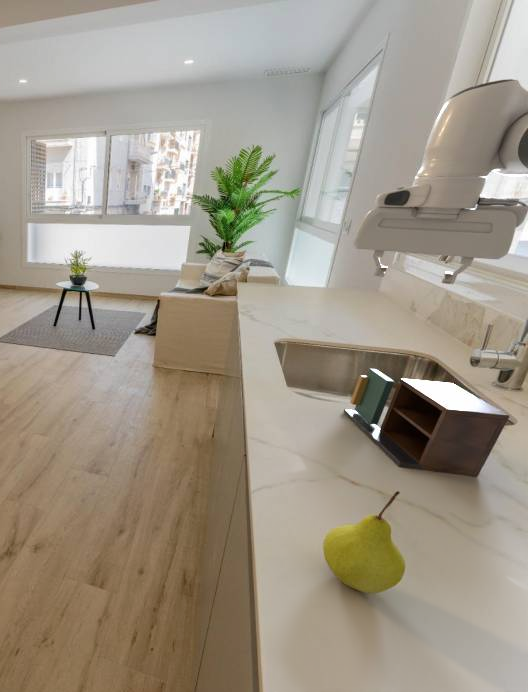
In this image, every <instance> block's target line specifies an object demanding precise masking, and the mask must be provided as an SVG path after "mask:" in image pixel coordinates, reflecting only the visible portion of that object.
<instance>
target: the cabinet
mask: <svg viewBox="0 0 528 692" xmlns="http://www.w3.org/2000/svg"><path fill="white" fill-rule="evenodd" d="M342 412H343V414H344V415H345V416H346V417H347V418H348V419H349V420H350V422H352V423H353V424H354V425H356V427H357V428H358V429H359V430H360V431H362V432H363V433H364V435H366V436H367V438H369V439H370V440H371V441H372V442H373V443H374V444H375V445H376V446H377V448H379V449H380V450H381V451H382V452H383V453H384V454H385V455H386V456H387V457H388V458H389V459H391V461H392V462H393V463H395V465H396V466H397V467H398V468H406V469H414V470H423V471H431V472H437V473H446V474H454V475H461V476H468V477H469V476H470V477H475V478H476V477H479V475H480V473H481V471H482V469H483V468H484V466H485V463H486V462H487V460H488V458H489V456H490V454H491V453H492V450H493V448H494V447H495V445H496V444H497V441H498V439H499V437H500V436H501V433H502V432H503V430H504V429H505V426H506V424H507V422H508V420H509V418H510V414H508V413H506V412H504V411H502V410H500V409H499V408H498V407H496V406H493V405H492V404H490V403H488V402H486V401H484V400H483V399H481V398H479V397H478V396H476V395H474V394H472V393H470V392H469V391H467V390H465V389H463V388H461V387H460V386H458V385H456V384H454V383H453V382H443V381H431V380H423V379H421V380H420V379H411V378H400V379H399V381H398V383H397V386H396V388H395V391H394V393H393V396H392V398H391V400H390V403H389V406H388V408H387V411H386V413H385V416H384V418H383V419H382V423H381V425H380V427H379V426H378V425H372V424H369V423H368V422H367V421H366V420H365V419H364V418H363V417H362V416H361V415H360V414H359V413H357V412H356V411H355V409H346V408H344V409H343V411H342Z"/></svg>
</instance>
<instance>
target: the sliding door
mask: <svg viewBox="0 0 528 692" xmlns="http://www.w3.org/2000/svg"><path fill="white" fill-rule="evenodd" d="M394 385H395V381H394V380H393V379H392V378H390V377H389V376H387V375H386V374H384V373H383V372H381V371H380V370H379V369H377V368H369V370H368V372H367V375H364V374H363V375H362V374H360V375H359V376H358V379H357V383H356V385H355V388H354V389H353V390H354V391H353V393H352V395H351V399H350V401H349V402H350V404H351V405H352V406H353V405H354V406H355V407H354V410H355V411H356V412H357V413H359V414H360V415H361V416H362V417H363V418H364V419H365V420H366V421H367V422H368V423H369V424H372V425H377V426H378V425H379V422H380V419H381V417H382V414H383V413H384V410H385V407H386V404H387V402H388V399H389V397H390V395H391V392H392V389H393V387H394Z"/></svg>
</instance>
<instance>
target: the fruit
mask: <svg viewBox="0 0 528 692" xmlns="http://www.w3.org/2000/svg"><path fill="white" fill-rule="evenodd" d="M400 494H401V492H400V491H398V490H397V491H395V492H394V493H393V495H392V496H391V497H390V499H388V501H387V503H386V504H385V506H383V508H382V510H380V512H379V514H369V515H366V516H365V517H364V518H362V520H360V521H359V522H358V523H356V524H345V525H341V526H336V527H335V528H332V529H331V530H329V532H328V533H326V535H325V537H324V540H323V544H322V548H323V549H322V551H323V556H324V560H325V562H326V564H327V566H328V568H329V569H330V571H331V572H332V574H333V575H334V576H335V577H336V578H337V579H338V580H339V581H340V582H341V583H342V584H345V585H346V586H348V587H350V588H352V589H354V590H357V591H359V592H362V593H366V594H371V595H372V594H374V595H375V594H378V593H381V592H385V591H387V590H389V589H392V588H393V587H395V586H397V585H398V584H399V583H400V582H401V581H402V579H403V577H404V575H405V570H406V560H405V559H404V556H403V555H402V553H401V551H400V549H399V547H397V545H396V543H395V542H394V541H393V539H392V527H391V525H390V523H389V521H388V520H387V519H386V518H385V517H383V514H384V513H385V511H386V510H387V509H388V508H389V507H390V506H391V505H392V503H393V502H394V501H395V499H396V497H398V496H399V495H400Z"/></svg>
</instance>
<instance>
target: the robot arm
mask: <svg viewBox="0 0 528 692" xmlns="http://www.w3.org/2000/svg"><path fill="white" fill-rule="evenodd" d="M491 173H494V174H495V173H496V174H500V175H502V176H508V177H523V176H527V177H528V90H527V89H526V88H524V87H523V86H522V85H521V82H520V81H519V80H518V79H513V78H510V79H499V80H494V81H488V82H485V83H480V84H478V85H474V86H469V87H466V88H465V89H462V90H460V91H458V92H456V93H455V94H453V95H452V96H450V97H449V98H448V99H447V100H446V102H444V104H443V106H442V108H441V109H440V111H439V114H438V116H437V117H436V119H435V122H434V124H433V126H432V129H431V131H430V134H429V136H428V139H427V142H426V144H425V148H424V158H423V161H422V165H421V167H420V168H419V170H418V171H417V173H416V174H415V177H414V180H413V182H412V184H411V186H408V187H399V188H396V189H393V190H390V191H385V192H381V193H379V194H378V195H377V196H376V197H375V201H374V205H375V206H376V207H375V208H372V209H371V210H369V212H367V214H366V215H365V216H364V218H363V219H362V221H361V223H360V225H359V227H358V230H357V232H356V233H355V236H354V239H353V243H352V245H353V246H354V248H355V249H357V250H368V251H369V250H370V251H373V254H372V258H373V261H374V264H375V266H376V267H375V272H374V275H373V276H374V277H381V278H384V277H385V274H386V271H387V269H388V266H386V265H383V264H382V262H381V259H380V258H383V256H384V255H385V252H394V253H408V254H421V255H431V256H433V255H434V256H446V257H458V258H459V260H458V263H459V266H457V267H456V268H455V269H454V270H452V271H445V272H444V274H443V277H442V279H441V283H442V284H448V285H454V284H455V281H456V279H457V277H458V275H460V274H461V273H463V272H464V271H465V270H466V269H467V268H469V267H470V266H472V264H473V261H474V259H484V260H500V259H502V258H504V257H505V256H507V255H508V254H509V252H510V249H511V247H512V244H513V239H514V237H515V233H516V229H517V228H518V227H520V226H521V225H523V223H524V221H525V219H526V217H527V215H528V205H527V203H525V202H524V201H521V200H520V199H519V198H515V197H514V198H513V197H509V198H508V197H507V198H498V197H481V195H482V192H483V190H484V187H485V185H486V182H487V180H488V177H489V175H490V174H491Z"/></svg>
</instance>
